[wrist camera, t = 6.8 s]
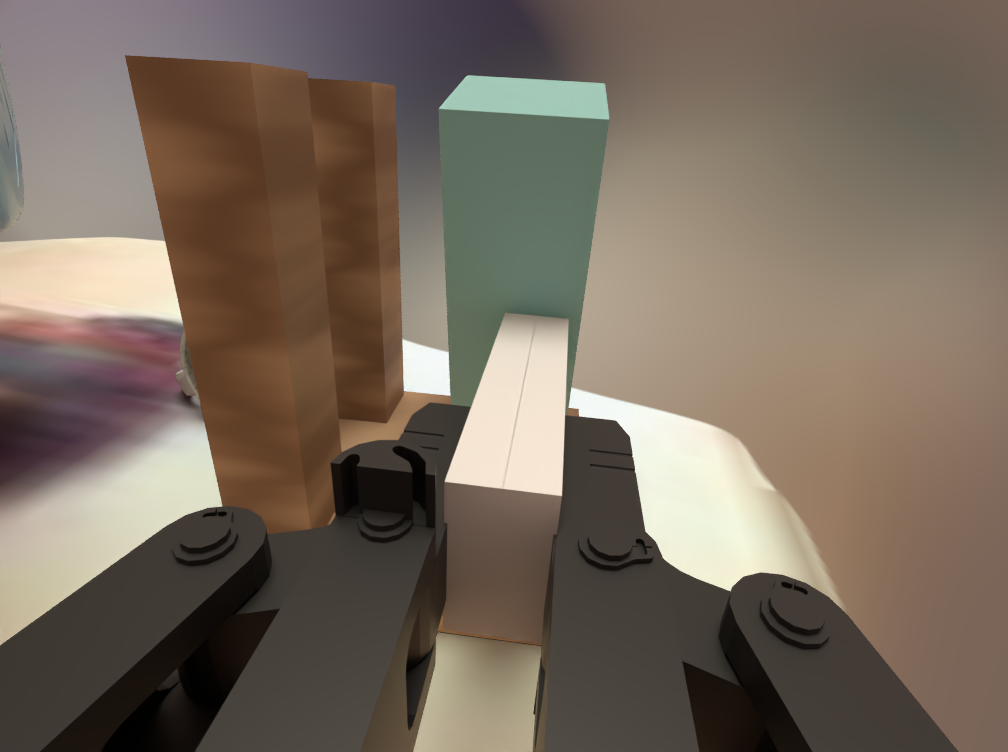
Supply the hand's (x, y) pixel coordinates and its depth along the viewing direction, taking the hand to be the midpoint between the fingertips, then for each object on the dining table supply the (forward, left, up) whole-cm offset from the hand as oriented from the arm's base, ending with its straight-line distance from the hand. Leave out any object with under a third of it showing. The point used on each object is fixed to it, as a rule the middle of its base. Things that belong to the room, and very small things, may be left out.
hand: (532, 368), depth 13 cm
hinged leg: (-1, +4, -9) cm, 10 cm away
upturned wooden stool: (-4, +9, -12) cm, 16 cm away
